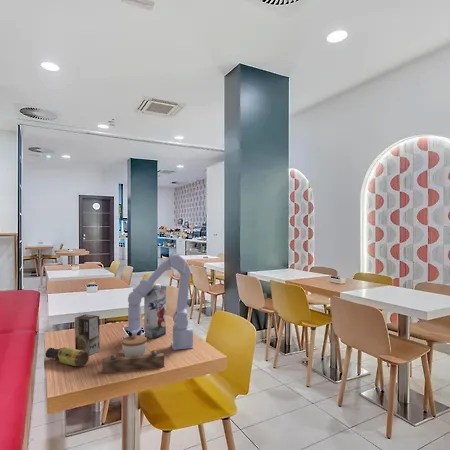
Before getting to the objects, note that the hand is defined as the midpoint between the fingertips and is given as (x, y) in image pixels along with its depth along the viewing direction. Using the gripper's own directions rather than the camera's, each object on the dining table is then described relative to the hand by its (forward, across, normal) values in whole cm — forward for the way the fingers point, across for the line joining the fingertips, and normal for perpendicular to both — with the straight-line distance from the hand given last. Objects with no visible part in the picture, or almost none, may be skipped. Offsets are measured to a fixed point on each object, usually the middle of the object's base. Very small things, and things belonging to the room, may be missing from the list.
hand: (134, 347), depth 155 cm
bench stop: (+1, +20, 0) cm, 20 cm away
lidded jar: (+2, +8, 0) cm, 8 cm away
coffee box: (+2, -4, -21) cm, 21 cm away
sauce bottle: (-2, +13, -19) cm, 24 cm away
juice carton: (+2, -19, +10) cm, 21 cm away
